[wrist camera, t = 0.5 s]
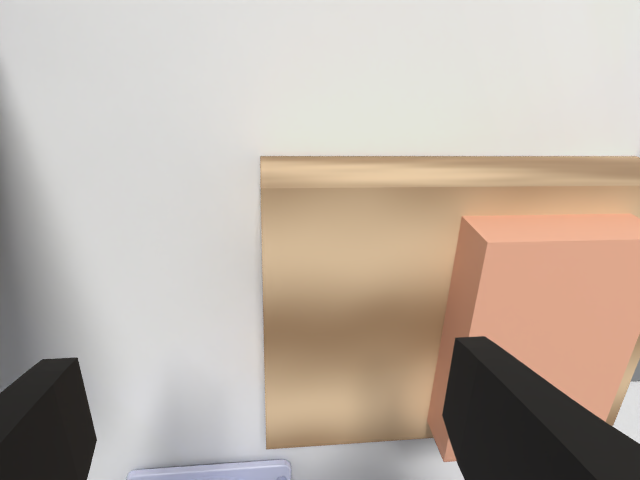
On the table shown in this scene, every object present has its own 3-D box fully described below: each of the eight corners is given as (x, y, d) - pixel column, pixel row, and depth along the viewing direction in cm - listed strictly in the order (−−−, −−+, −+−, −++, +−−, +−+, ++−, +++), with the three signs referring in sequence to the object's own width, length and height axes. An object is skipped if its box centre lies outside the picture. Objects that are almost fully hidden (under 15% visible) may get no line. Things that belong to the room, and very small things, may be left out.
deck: (567, 371, 24) (613, 425, 21) (265, 387, 23) (266, 449, 19) (635, 156, 20) (708, 185, 16) (260, 156, 18) (260, 188, 15)
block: (565, 411, 20) (594, 450, 19) (427, 420, 20) (443, 462, 18) (630, 213, 17) (675, 238, 15) (461, 216, 16) (487, 242, 14)
